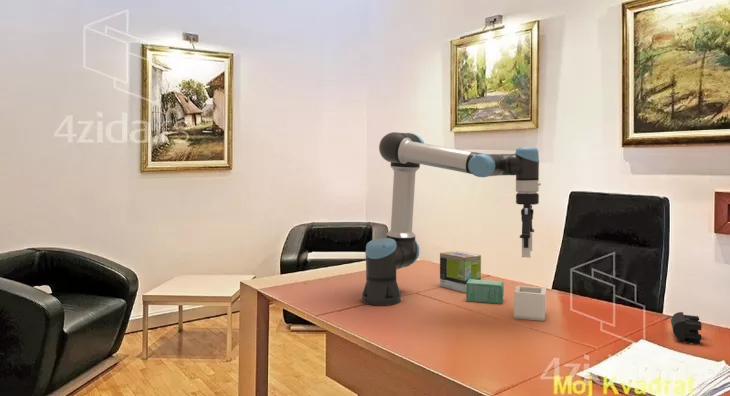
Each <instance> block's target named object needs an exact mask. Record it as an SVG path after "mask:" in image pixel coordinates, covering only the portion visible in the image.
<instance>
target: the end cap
mask: <svg viewBox="0 0 730 396" xmlns="http://www.w3.org/2000/svg"><path fill="white" fill-rule="evenodd" d="M670 322H671V328H672V332H673V335H674V337H676V338H677V339H678V340H679V341H680V342H681V343H684V342H686V343H685V344H690V343H693V344H692V345H697V344H700V345H702V342H701V340H702V334H701V333H700V332H699V331H702V322H701V321H700V317H699V316H698V315H689V314H684V312H683V311H679V312H676V313H674V314H673V315H672V316H671V319H670Z"/></svg>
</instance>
